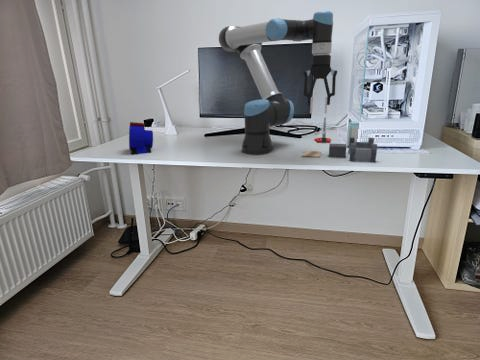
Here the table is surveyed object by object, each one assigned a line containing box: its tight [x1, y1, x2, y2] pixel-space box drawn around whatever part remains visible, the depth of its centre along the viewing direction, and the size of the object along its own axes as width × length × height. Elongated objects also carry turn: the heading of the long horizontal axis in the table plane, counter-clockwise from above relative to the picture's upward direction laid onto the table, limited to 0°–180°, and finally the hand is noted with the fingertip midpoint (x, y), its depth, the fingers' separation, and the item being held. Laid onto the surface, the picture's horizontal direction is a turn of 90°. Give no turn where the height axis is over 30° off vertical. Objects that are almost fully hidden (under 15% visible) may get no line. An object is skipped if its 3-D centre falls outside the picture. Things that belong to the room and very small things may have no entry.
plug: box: [328, 143, 347, 159], centre depth 138 cm, size 7×5×5 cm
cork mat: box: [301, 150, 322, 159], centre depth 141 cm, size 8×8×1 cm
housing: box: [347, 137, 378, 163], centre depth 135 cm, size 10×14×7 cm
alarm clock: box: [128, 121, 154, 156], centre depth 157 cm, size 12×12×15 cm
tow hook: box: [314, 117, 332, 144], centre depth 164 cm, size 8×13×9 cm
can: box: [346, 120, 359, 147], centre depth 150 cm, size 7×7×12 cm
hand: (318, 112), depth 134 cm, fingers open, 5 cm apart
